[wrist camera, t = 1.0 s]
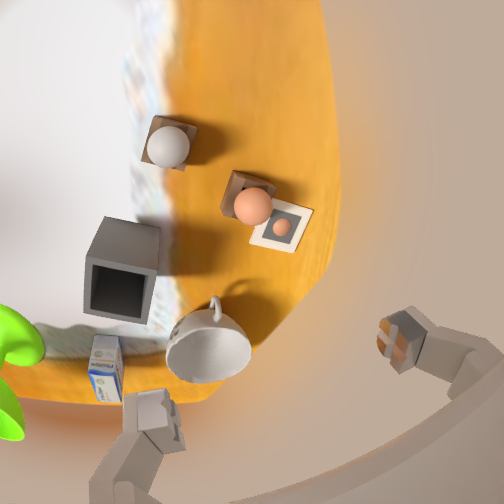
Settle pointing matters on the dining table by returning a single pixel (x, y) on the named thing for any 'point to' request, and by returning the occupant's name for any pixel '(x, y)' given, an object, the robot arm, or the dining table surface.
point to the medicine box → (106, 368)
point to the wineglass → (18, 353)
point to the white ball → (168, 147)
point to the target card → (282, 227)
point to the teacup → (207, 346)
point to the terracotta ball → (253, 206)
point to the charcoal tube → (121, 270)
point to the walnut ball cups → (236, 177)
